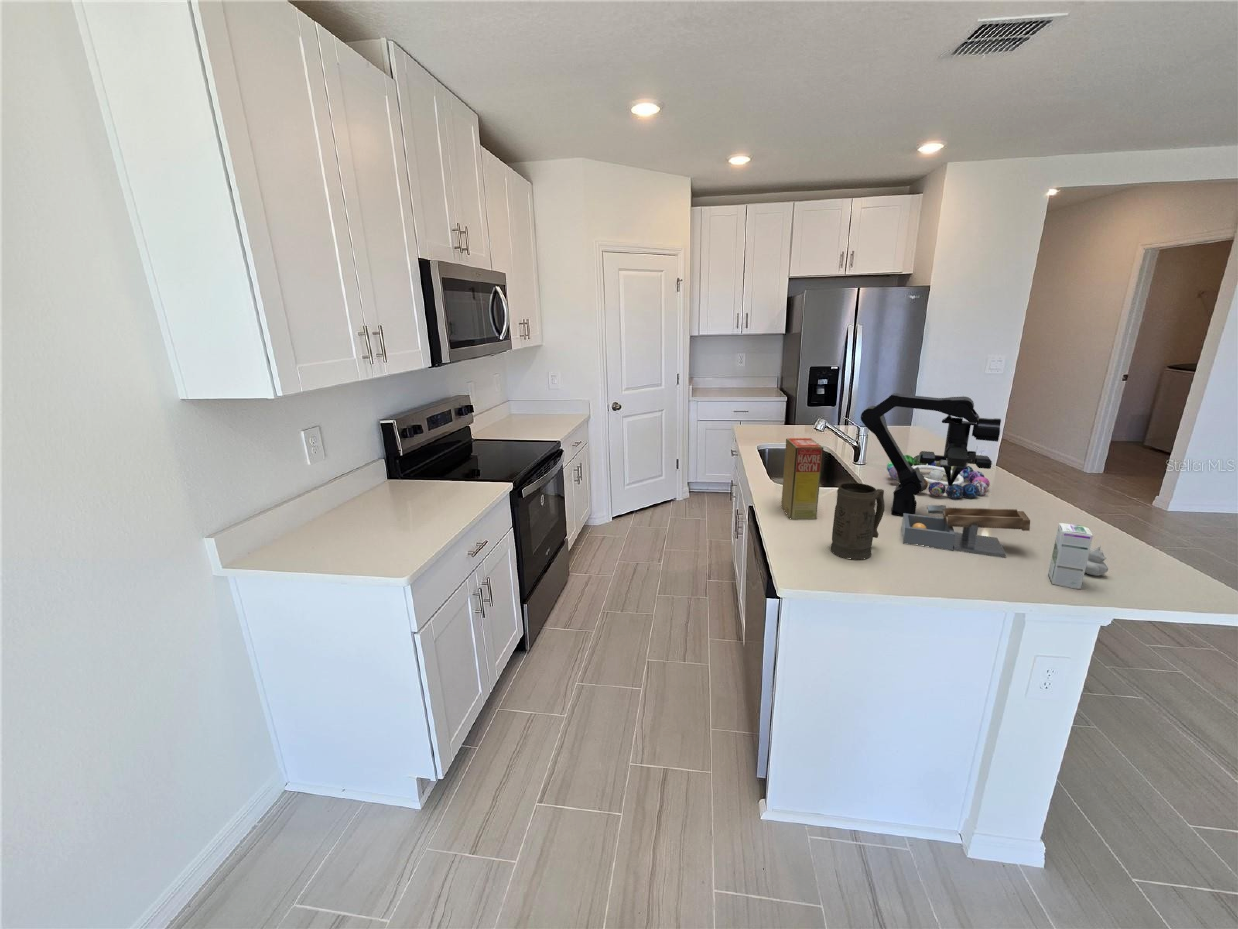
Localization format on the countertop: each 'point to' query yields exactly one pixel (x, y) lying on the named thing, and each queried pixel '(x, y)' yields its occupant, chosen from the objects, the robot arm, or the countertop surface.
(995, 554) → the lever stand
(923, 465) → the decorated egg ring holder
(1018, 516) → the tipping lever
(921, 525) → the ball
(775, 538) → the countertop surface
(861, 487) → the beer stein
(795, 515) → the food packaging
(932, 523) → the grey open tray
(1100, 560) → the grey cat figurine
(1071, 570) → the syrup box
